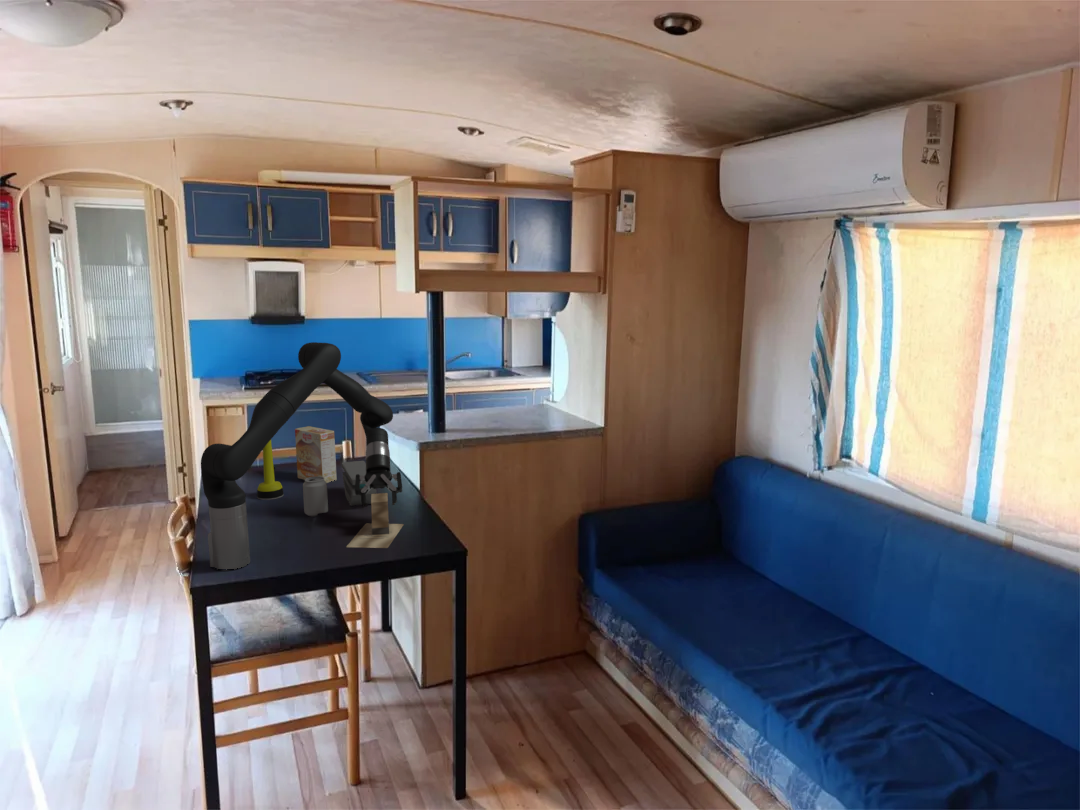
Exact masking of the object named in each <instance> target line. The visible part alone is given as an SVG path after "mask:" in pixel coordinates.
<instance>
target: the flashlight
mask: <svg viewBox="0 0 1080 810" xmlns="http://www.w3.org/2000/svg"><path fill="white" fill-rule="evenodd" d="M273 458H274V456H273V446H272V439H271V440H270V441H269V442H268V443H267V445H266V446H265V447H264V448H263V450H262V463H263V481H262V482H260V483H259V484H258V486H257V489H256V498H257V499H258V500H262V501H270V500H276V499H280V498H282V497H283V496H285V493H284V488H283V485H282V483H281V482H280V481H279V480H278V481H277V480H275V479H276V478H275V471H276V468H275V466H274V459H273Z"/></svg>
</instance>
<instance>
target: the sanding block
mask: <svg viewBox="0 0 1080 810" xmlns="http://www.w3.org/2000/svg"><path fill="white" fill-rule="evenodd" d="M388 495H389V494H388V492H381V493H380V492H379V493H376V494H371V504H370V505H371V524H372V535H378V534H389V524H390V519H389V506H388V505H389V499H388Z"/></svg>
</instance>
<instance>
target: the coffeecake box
mask: <svg viewBox="0 0 1080 810" xmlns="http://www.w3.org/2000/svg"><path fill="white" fill-rule="evenodd" d="M294 435H295V437H294V438H295V452H296V453H295V454H296V469H297V470H296V471H297V473H296V474H297V478H298V479H300V480H303V481H305V479H306V478H309V477H315V476H319V477H324V480H325V481H326V482H327V484H329V483H330V482H331V481H332V482H335V481H337V480H338V479H337V461H336V460H337V459H336V443H335V442H336V441H335V430H331V429H325V428H322V427H321V428H320V427H314V426H310V425H307V426H303V427H297V428H295V429H294ZM334 480H335V481H334Z"/></svg>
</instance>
